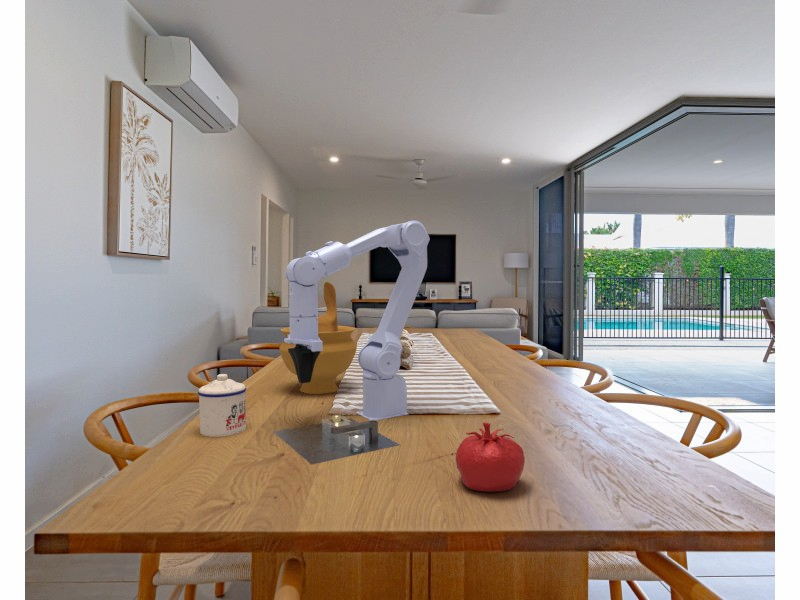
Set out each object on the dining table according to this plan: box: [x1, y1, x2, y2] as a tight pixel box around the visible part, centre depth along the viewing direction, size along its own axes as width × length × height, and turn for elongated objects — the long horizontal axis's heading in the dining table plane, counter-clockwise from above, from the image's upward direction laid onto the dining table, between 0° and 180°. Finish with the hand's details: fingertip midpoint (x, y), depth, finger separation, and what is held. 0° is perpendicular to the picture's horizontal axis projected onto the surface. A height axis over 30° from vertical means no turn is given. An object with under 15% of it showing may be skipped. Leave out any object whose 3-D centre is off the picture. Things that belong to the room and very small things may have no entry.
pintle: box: [332, 413, 342, 423], centre depth 93 cm, size 2×2×4 cm
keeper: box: [331, 419, 379, 443], centre depth 86 cm, size 9×1×4 cm, turn 122°
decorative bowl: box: [278, 281, 357, 395], centre depth 133 cm, size 21×21×30 cm
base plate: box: [273, 418, 401, 465], centre depth 91 cm, size 17×20×1 cm
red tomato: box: [455, 421, 526, 493], centre depth 71 cm, size 10×10×9 cm
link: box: [321, 415, 365, 452], centre depth 89 cm, size 13×4×3 cm, turn 28°
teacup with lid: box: [197, 373, 247, 438], centre depth 97 cm, size 12×9×12 cm
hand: (304, 382), depth 99 cm, fingers closed
